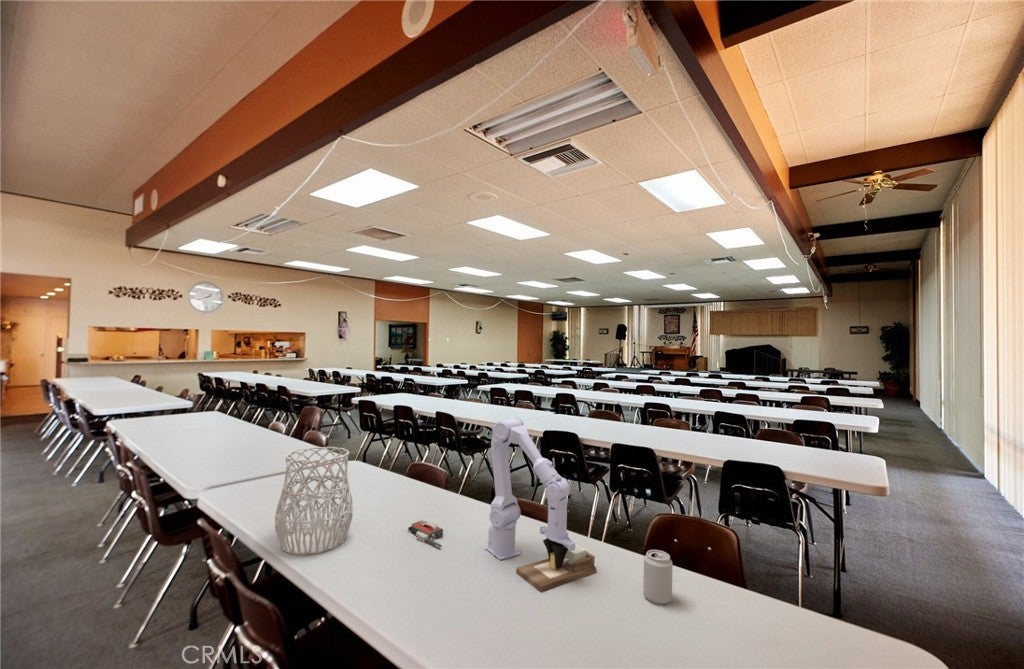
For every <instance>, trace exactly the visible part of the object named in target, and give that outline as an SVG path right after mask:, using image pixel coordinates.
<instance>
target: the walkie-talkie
mask: <svg viewBox="0 0 1024 669" xmlns="http://www.w3.org/2000/svg"><path fill="white" fill-rule="evenodd" d="M407 530H408V531H410V533H411V532H412V533H411V534H413V533H414V535H415V536H416V540H417V541H420V542H421V543H423V544H425V543H429V544H430V545H433V546H436V547H439V548H442V544H440V543H438V542H436V541H435V540H437V539H439V538H440V539H441V538H442V537H444V529H443V528H442V527H439V526H438V525H437V524H435V523H433V522H431V521H429V522H428V521H426V520H419V521H416V522H413V523H412V524H411V525H410V526H408V528H407Z"/></svg>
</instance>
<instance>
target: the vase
mask: <svg viewBox="0 0 1024 669" xmlns="http://www.w3.org/2000/svg"><path fill="white" fill-rule="evenodd" d="M329 449H331V450H329ZM322 450H324V451H327V452H325V454H323V455H322V454H321V453H320V452H321V451H322ZM301 451H302V452H301ZM307 451H310V452H312V453H311V454H310V455H309V456H307V455H305V454H304V453H306V452H307ZM334 451H338V452H339V453H338V454H337V455H336V454H335V453H334ZM344 453H345V454H344ZM294 454H298V456H297V457H296V458H294V457H293V456H294ZM315 454H316V455H318V456H319V457H320V458H319V459H311V457H312V456H314V455H315ZM329 454H331V456H333V457H331V458H329V459H328V458H326V456H327V455H329ZM349 455H350V451H349V449H346V448H344V447H336V446H323V447H322V446H317V447H307V448H298V449H296V450H294V451H290V452H287V453H286V454H285V464H286V466H285V474H284V476H285V477H284V482H283V486H282V490H281V494H280V497H279V500H278V503H277V506H276V511H275V515H274V528H275V532H276V533H275V534H276V538H277V541H278V543H279V545H280V549H281V550H282V551H283V552H285V553H286V554H289V555H296V556H297V555H298V556H308V555H317V554H321V553H325V552H327V550H328V551H331V550H334V549H336V548H337V547H338V545H339V546H340V545H342V544H344V542H345V539H346V537H347V535H348V532H349V530H350V526H351V523H352V520H353V515H354V514H353V512H354V503H353V502H354V501H353V496H352V493H351V489H350V484H349V482H350V481H349V474H348V463H349ZM301 456H303V457H304V458H305V459H299V458H300V457H301ZM342 459H343V461H342V462H340V460H342ZM329 462H330V463H329ZM299 464H300V465H299ZM310 464H311V465H312V468H311V467H309V466H308V465H310ZM325 464H326V465H327V466H326V465H325ZM335 465H337V466H338V467H339V468H338V470H337V472H336V474H335V473H334V471H333V470H332V468H333V467H334V466H335ZM343 465H344V466H343ZM303 467H306V469H308V470H309V471H310V472H309V473H308V474H307V475H306V476H305V473H304V472H303ZM319 467H323V468H324V469H325V471H324V473H323V474H321V473H320V472H319V470H318V468H319ZM343 468H344V469H343ZM293 469H294V470H295V472H294V473H293V475H292V472H293ZM340 472H341V476H340ZM327 473H329V475H328V474H327ZM312 474H313V475H312ZM298 477H299V478H298ZM313 481H314V482H316V483H317V484H316V485H315V487H314V489H313V490H312V488H310V486H309V484H310V483H312V482H313ZM328 481H330V482H331V485H330V487H328V486H327V485H326V484H325V483H326V482H328ZM340 483H342V485H340ZM298 484H300V485H299V487H298V488H297V489H296V490H297V491H296V492H295V490H294V488H295V487H296V486H297V485H298ZM321 488H322V489H323V491H320V490H321ZM304 489H305V492H304ZM316 491H317V492H316ZM336 495H338V496H336ZM320 499H322V500H324V501H323V502H322V503H321V502H320V501H319V500H320ZM288 500H289V501H290V502H287V501H288ZM336 500H339V503H337V501H336ZM303 501H304V502H306V503H305V504H304V505H302V504H301V502H303ZM329 508H330V510H329ZM308 512H309V518H310V519H309V520H308ZM315 512H316V515H315ZM302 514H303V515H302ZM321 514H322V515H321ZM331 515H332V516H331ZM291 517H292V519H291ZM330 520H331V523H330ZM325 522H326V523H325ZM308 524H310V527H309V528H308V526H307V525H308ZM329 524H330V525H329ZM288 526H289V527H288ZM298 527H299V530H298ZM341 543H342V544H341ZM335 547H336V548H335ZM333 548H334V549H333ZM330 549H331V550H330ZM324 551H325V552H324Z"/></svg>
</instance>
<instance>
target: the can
mask: <svg viewBox="0 0 1024 669" xmlns="http://www.w3.org/2000/svg"><path fill="white" fill-rule="evenodd" d="M642 586H643V596H644V597H645V598H646V600H648V601H649V602H650V603H653V604H655V605H667V604H668V603H669V602H671V601H672V599H673V561H672V560H671V555H670V554H669V553H667V552H666V551H664V550H660V549H659V550H658V549H649V550H648V551H646V552H645V556H644V557H643V585H642Z"/></svg>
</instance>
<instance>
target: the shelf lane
mask: <svg viewBox="0 0 1024 669" xmlns="http://www.w3.org/2000/svg"><path fill="white" fill-rule="evenodd" d="M595 557H596V556H595V555H593V554H591V552H590V553H589V552H588V551H587V557H586V558H585V559H582V560H579V561H576V562H573V563H572V565H570V564H568V563H567V562H564V563H563V565H562V567H561V568H558V569H555V570H554V569H553V568H551V567H550V561H549V557H548V558H544V559H542V560H539V561H536V562H535V561H534V562H532V563H528V564H525V565H522V566H518V567H516V568H515V570H516V571H515V573H516V575H518V576H519V577H521V578H522V579H523V580H524V581H525V582H527V583H528V584H529V585H531V586H532V587H533V588H535V589H536V590H537V591H538V592H540V593H543V592H545V591H548V590H550V589H554V588H556V587H559V586H561V585H564V584H567V583H570V582H573V581H576V580H578V579H582V578H584V577H587V576H590V575H592V574H595V573H597V566H595V562H596V561H595Z"/></svg>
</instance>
